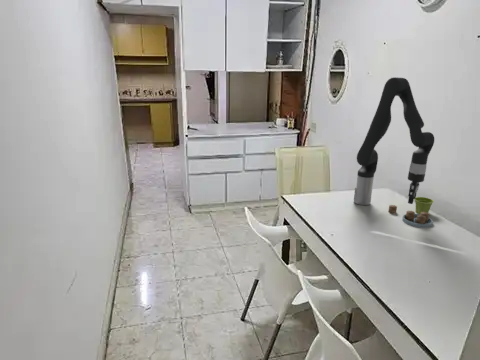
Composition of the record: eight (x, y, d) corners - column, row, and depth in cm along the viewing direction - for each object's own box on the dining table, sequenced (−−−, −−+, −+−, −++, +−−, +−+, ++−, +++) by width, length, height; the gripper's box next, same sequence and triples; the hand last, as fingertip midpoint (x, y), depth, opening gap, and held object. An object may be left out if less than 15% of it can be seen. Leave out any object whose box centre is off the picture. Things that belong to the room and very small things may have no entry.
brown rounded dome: (404, 220, 182) (406, 212, 181) (406, 217, 186) (407, 210, 184) (413, 222, 180) (414, 214, 179) (414, 219, 184) (415, 211, 182)
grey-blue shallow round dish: (399, 224, 179) (400, 220, 179) (404, 215, 191) (405, 211, 190) (430, 231, 172) (431, 226, 171) (433, 221, 183) (434, 217, 182)
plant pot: (434, 217, 188) (437, 203, 186) (416, 217, 188) (419, 202, 186) (425, 211, 197) (428, 196, 194) (409, 211, 197) (411, 196, 195)
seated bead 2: (418, 221, 181) (420, 213, 180) (420, 219, 184) (421, 211, 183) (427, 223, 179) (428, 215, 177) (428, 220, 182) (429, 212, 181)
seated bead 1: (415, 225, 177) (416, 216, 176) (416, 222, 180) (417, 214, 179) (423, 226, 175) (425, 218, 173) (424, 224, 178) (426, 216, 177)
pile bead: (387, 214, 193) (388, 206, 192) (389, 211, 196) (390, 204, 195) (395, 215, 191) (396, 208, 190) (396, 213, 194) (397, 205, 193)
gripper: (411, 166, 182) (406, 195, 187) (406, 173, 171) (401, 203, 176) (427, 169, 178) (421, 198, 183) (423, 176, 167) (417, 207, 172)
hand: (411, 201), depth 180 cm, fingers open, 8 cm apart
